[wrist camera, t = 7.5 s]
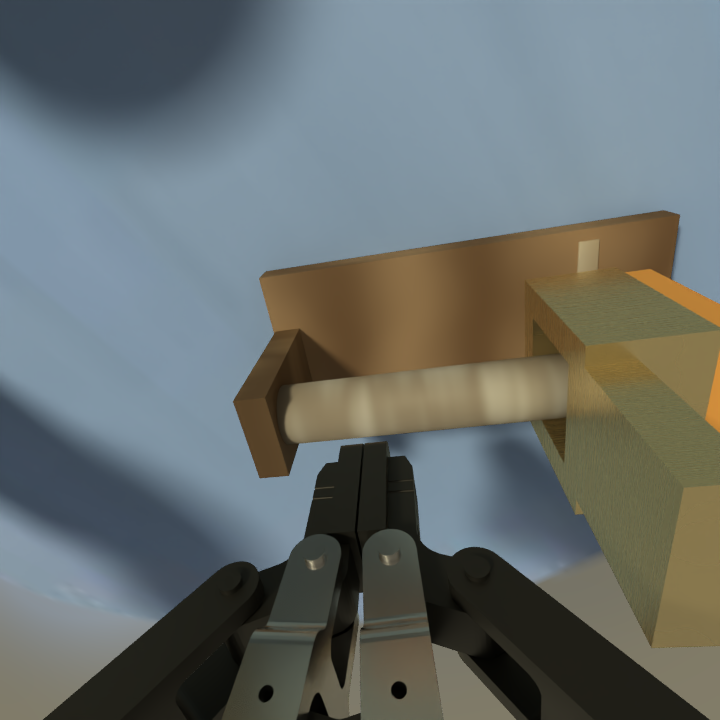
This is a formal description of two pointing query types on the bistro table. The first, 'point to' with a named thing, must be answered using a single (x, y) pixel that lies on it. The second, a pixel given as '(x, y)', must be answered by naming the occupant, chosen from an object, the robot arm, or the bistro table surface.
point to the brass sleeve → (637, 441)
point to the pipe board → (423, 336)
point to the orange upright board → (715, 313)
